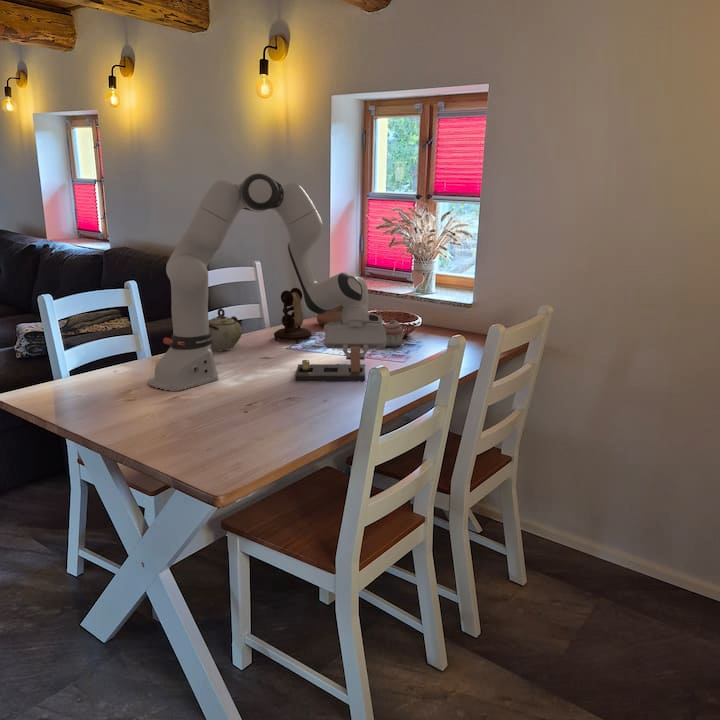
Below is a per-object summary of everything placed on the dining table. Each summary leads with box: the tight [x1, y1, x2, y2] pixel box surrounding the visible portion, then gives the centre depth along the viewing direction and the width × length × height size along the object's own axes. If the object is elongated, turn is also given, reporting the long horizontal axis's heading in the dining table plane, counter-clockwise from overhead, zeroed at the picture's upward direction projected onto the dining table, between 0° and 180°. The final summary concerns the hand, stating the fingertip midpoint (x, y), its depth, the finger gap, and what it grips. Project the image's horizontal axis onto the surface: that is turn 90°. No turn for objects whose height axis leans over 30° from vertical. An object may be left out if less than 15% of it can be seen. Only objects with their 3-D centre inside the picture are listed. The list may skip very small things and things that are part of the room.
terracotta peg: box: [350, 346, 361, 372], centre depth 199 cm, size 3×3×8 cm
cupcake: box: [383, 319, 405, 348], centre depth 235 cm, size 9×9×10 cm
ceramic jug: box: [316, 305, 344, 327], centre depth 265 cm, size 18×14×14 cm
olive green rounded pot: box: [209, 308, 243, 351], centre depth 230 cm, size 20×15×15 cm
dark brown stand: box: [273, 287, 313, 344], centre depth 242 cm, size 15×15×20 cm
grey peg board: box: [294, 359, 366, 383], centre depth 199 cm, size 22×12×5 cm, turn 90°
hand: (355, 358), depth 198 cm, fingers closed on terracotta peg, 3 cm apart
